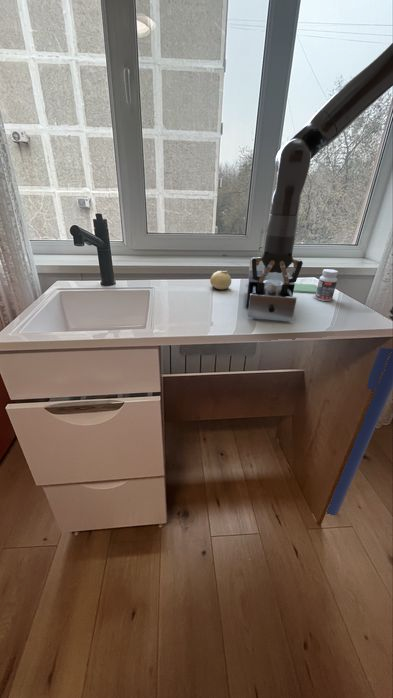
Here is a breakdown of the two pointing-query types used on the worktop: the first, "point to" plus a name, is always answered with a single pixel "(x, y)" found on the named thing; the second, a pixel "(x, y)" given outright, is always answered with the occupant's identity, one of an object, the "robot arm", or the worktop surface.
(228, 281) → the onion
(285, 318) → the drawer
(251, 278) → the box
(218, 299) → the worktop surface
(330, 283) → the pill bottle
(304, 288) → the drying pad
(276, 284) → the steel tumbler
